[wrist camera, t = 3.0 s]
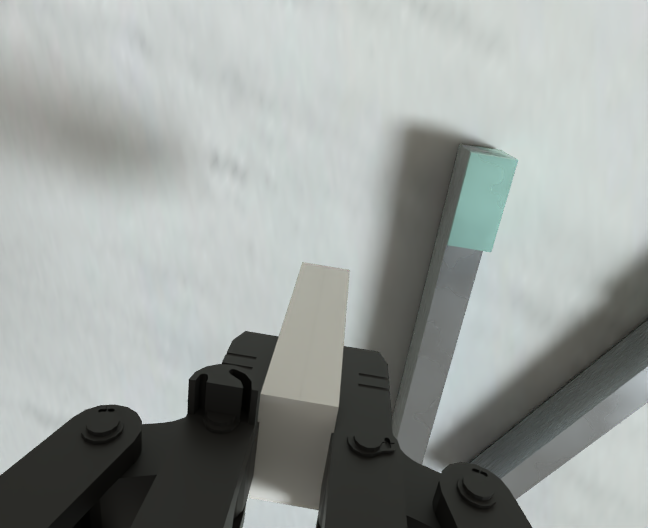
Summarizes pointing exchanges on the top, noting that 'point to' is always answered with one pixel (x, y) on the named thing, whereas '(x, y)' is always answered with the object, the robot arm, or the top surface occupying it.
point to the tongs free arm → (450, 287)
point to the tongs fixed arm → (573, 416)
